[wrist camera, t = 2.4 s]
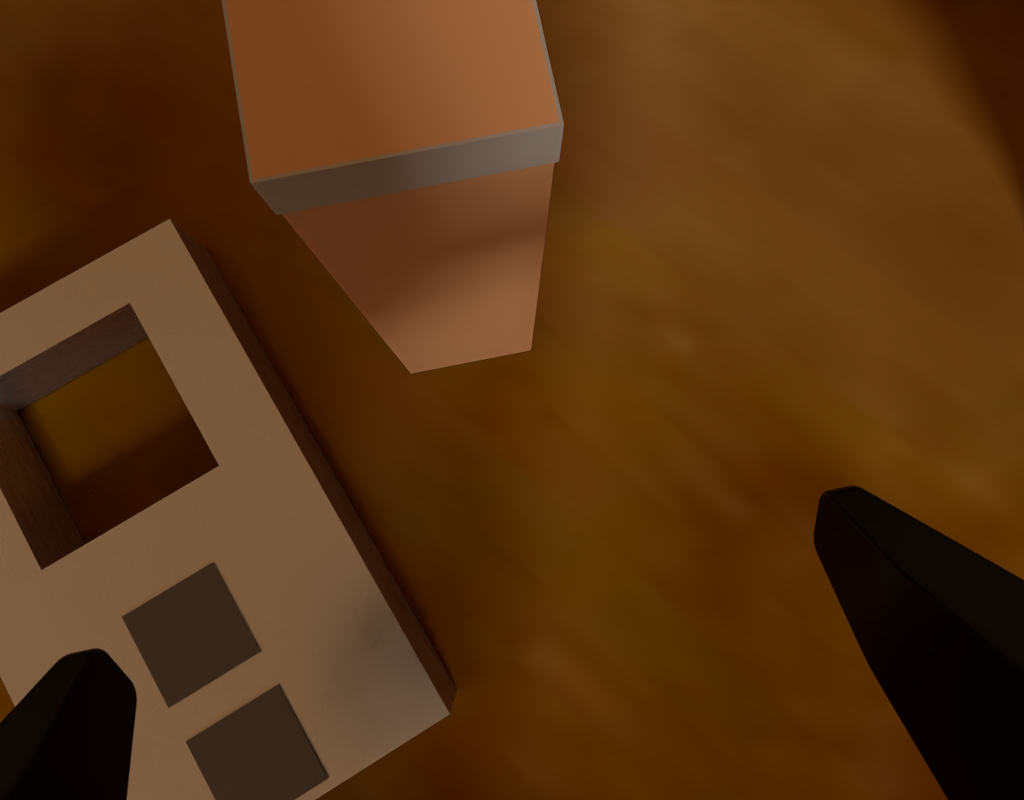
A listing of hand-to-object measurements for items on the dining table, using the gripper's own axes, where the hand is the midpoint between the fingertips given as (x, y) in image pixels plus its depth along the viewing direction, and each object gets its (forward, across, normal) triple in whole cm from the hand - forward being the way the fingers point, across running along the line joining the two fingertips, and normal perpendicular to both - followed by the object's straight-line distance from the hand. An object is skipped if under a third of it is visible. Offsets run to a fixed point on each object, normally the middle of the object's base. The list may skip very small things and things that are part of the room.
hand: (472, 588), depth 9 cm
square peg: (+15, 0, +4) cm, 16 cm away
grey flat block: (+11, +10, +8) cm, 17 cm away
